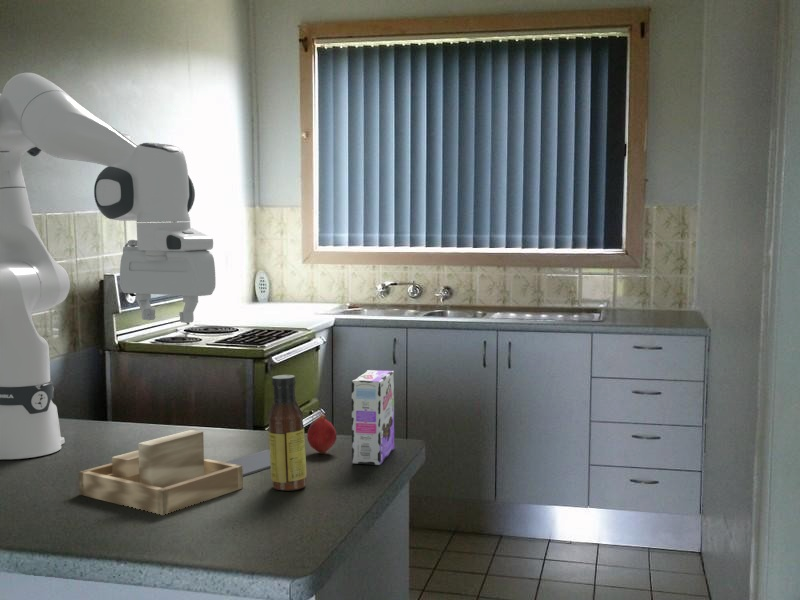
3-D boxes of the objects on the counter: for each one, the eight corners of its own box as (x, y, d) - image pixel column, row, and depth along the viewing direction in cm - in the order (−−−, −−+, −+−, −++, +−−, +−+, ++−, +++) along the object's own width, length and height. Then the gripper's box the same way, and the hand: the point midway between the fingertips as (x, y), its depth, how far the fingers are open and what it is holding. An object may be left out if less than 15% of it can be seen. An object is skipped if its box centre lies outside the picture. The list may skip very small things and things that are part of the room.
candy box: (380, 466, 184) (380, 381, 182) (350, 464, 185) (350, 380, 183) (395, 448, 197) (395, 369, 196) (367, 447, 198) (367, 368, 197)
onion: (309, 457, 190) (308, 418, 189) (306, 450, 196) (305, 412, 195) (338, 456, 191) (337, 416, 190) (334, 449, 197) (334, 410, 196)
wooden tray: (79, 494, 166) (78, 471, 165) (161, 470, 181) (160, 449, 180) (163, 515, 154) (162, 491, 154) (242, 488, 169) (242, 465, 169)
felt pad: (207, 469, 181) (207, 467, 181) (267, 451, 195) (267, 449, 195) (242, 476, 176) (242, 474, 176) (301, 457, 190) (301, 455, 190)
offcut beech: (112, 473, 169) (111, 457, 169) (146, 463, 176) (146, 447, 175) (128, 477, 167) (127, 460, 166) (162, 466, 174) (162, 450, 173)
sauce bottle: (308, 482, 173) (306, 373, 171) (304, 492, 166) (303, 379, 165) (271, 482, 173) (270, 373, 171) (267, 492, 166) (265, 379, 165)
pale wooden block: (139, 501, 162) (138, 443, 161) (192, 484, 172) (191, 429, 171) (152, 504, 160) (150, 445, 159) (204, 487, 170) (203, 431, 169)
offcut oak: (91, 496, 166) (91, 479, 165) (124, 486, 172) (123, 470, 171) (106, 500, 164) (106, 482, 163) (139, 490, 169) (138, 473, 169)
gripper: (108, 240, 165) (112, 320, 166) (192, 240, 154) (195, 325, 155) (137, 239, 170) (141, 316, 172) (220, 238, 159) (223, 322, 160)
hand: (167, 321), depth 163 cm, fingers open, 8 cm apart
